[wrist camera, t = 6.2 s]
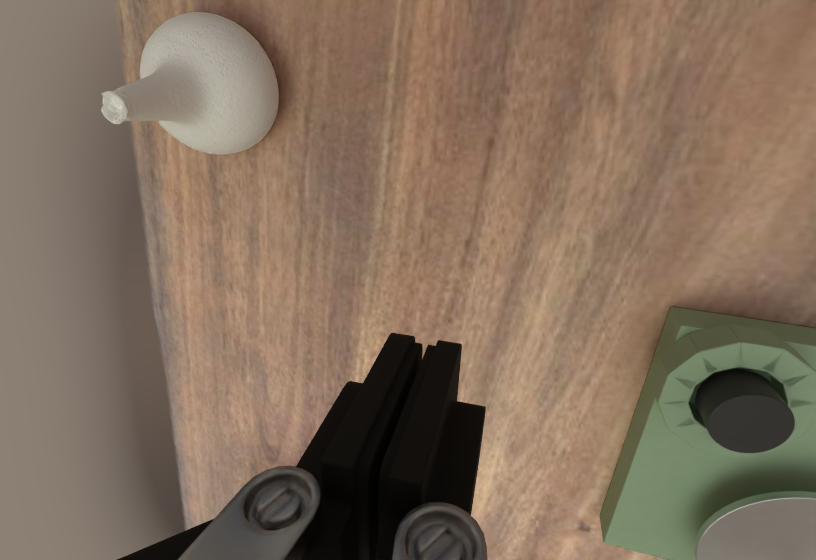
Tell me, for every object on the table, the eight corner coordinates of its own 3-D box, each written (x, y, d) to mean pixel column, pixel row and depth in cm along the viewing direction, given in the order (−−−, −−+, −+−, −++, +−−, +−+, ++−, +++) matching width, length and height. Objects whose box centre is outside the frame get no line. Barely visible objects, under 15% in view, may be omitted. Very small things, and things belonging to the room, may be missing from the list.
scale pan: (726, 471, 21) (730, 478, 21) (948, 519, 19) (955, 527, 19) (672, 583, 24) (674, 590, 24) (854, 632, 23) (859, 641, 22)
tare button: (707, 363, 19) (721, 388, 18) (787, 376, 19) (809, 403, 17) (685, 417, 21) (697, 444, 19) (759, 431, 20) (777, 461, 19)
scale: (662, 296, 22) (683, 332, 19) (979, 342, 19) (1064, 394, 16) (591, 513, 28) (598, 567, 25) (820, 570, 26) (858, 637, 23)
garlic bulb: (213, -15, 21) (54, -59, 14) (311, 82, 22) (204, 86, 15) (161, 90, 24) (7, 97, 17) (248, 174, 25) (135, 213, 18)
